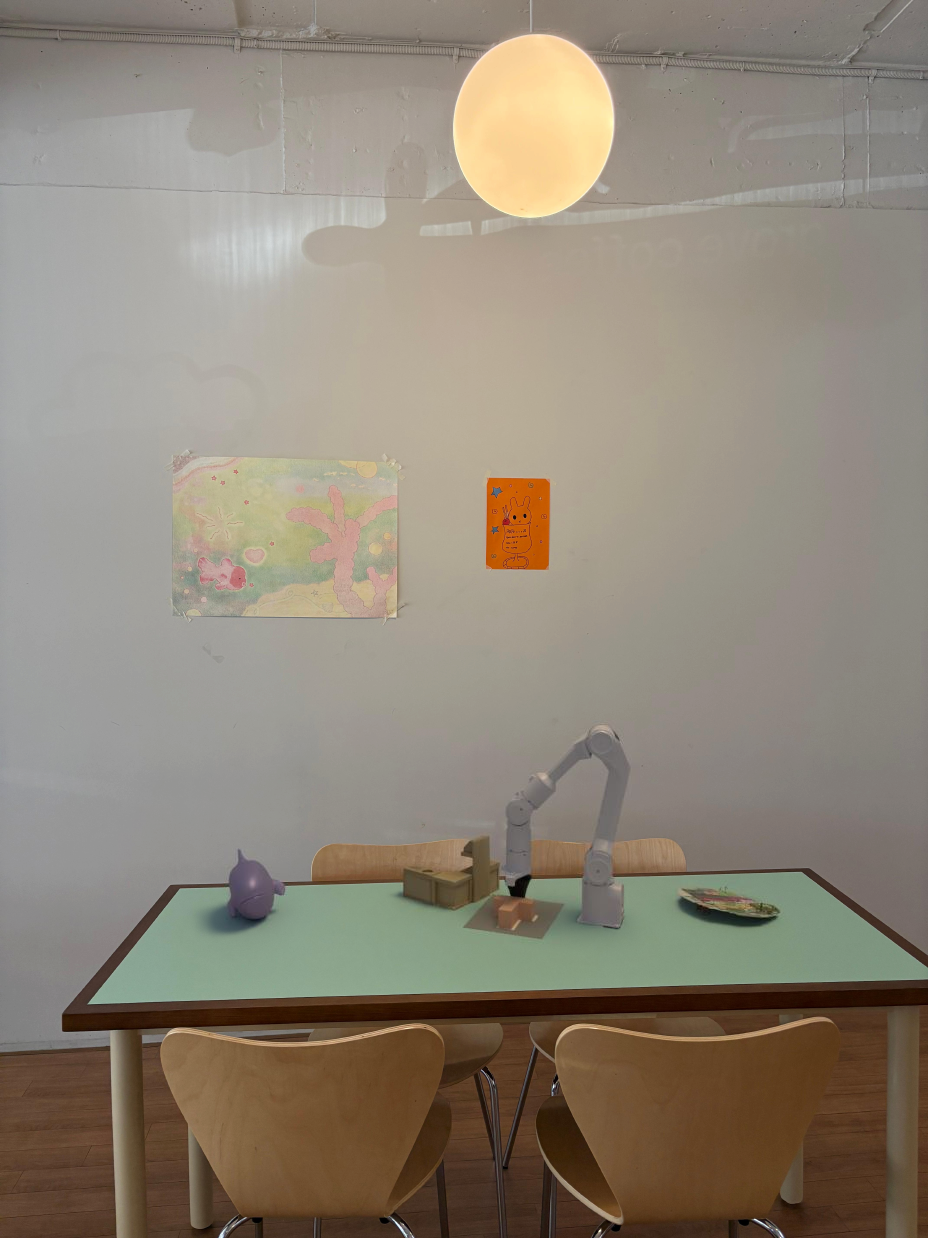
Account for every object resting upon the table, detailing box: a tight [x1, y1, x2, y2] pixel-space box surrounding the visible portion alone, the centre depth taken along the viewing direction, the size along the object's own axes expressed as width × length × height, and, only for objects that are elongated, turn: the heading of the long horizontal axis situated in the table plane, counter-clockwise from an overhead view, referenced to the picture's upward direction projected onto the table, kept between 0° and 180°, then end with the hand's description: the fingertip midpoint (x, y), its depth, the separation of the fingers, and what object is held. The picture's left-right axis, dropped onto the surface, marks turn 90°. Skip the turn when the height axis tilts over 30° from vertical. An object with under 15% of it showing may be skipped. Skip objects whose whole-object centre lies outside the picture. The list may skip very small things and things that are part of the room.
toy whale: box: [226, 848, 286, 920], centre depth 191 cm, size 14×25×16 cm, turn 12°
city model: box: [676, 884, 781, 918], centre depth 197 cm, size 25×23×6 cm
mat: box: [462, 893, 565, 940], centre depth 190 cm, size 18×22×1 cm
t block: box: [493, 894, 536, 929], centre depth 187 cm, size 9×9×4 cm
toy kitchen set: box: [402, 835, 501, 912], centre depth 205 cm, size 18×17×15 cm
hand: (517, 907), depth 192 cm, fingers closed
